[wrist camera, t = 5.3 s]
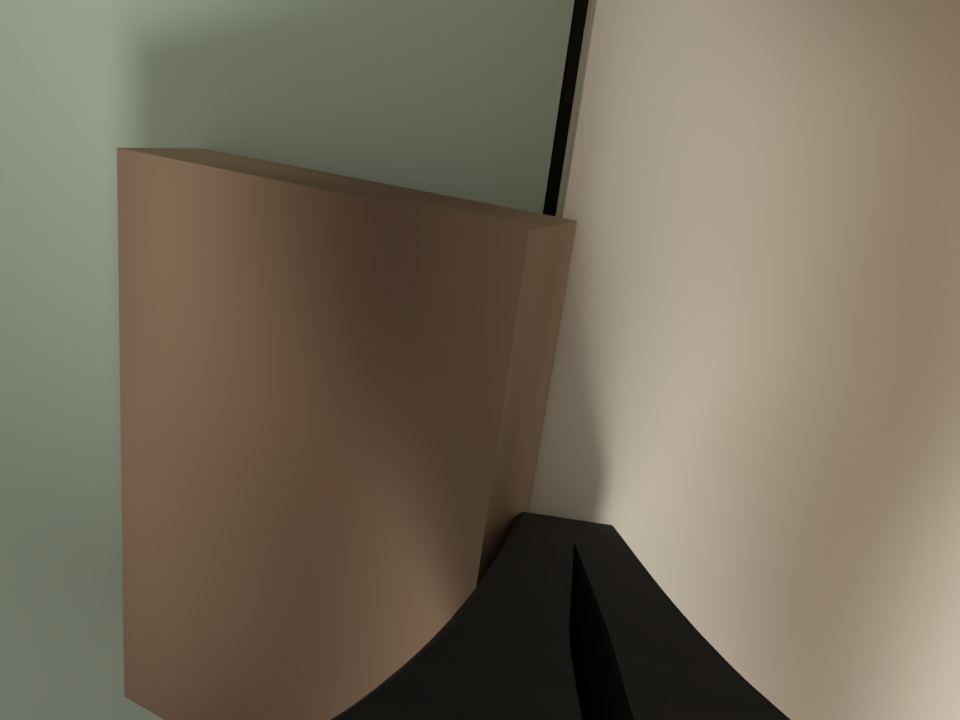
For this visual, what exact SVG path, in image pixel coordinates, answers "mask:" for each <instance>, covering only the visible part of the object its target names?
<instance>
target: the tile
mask: <svg viewBox="0 0 960 720" xmlns="http://www.w3.org/2000/svg"><path fill="white" fill-rule="evenodd" d="M117 195H118V270H119V345H120V420H121V495H122V570H123V645H124V697H126V698H127V699H129V700H131V701H133V702H134V703H136V704H138V705H140V706H141V707H143V708H145V709H147V710H148V711H150V712H152V713H153V714H155V715H157V716H159V717H160V718H162V719H164V720H331V719H332V718H334V717H335V716H337V715H339V714H340V713H342V712H343V711H345V710H346V709H348V708H350V707H351V706H352V705H354V704H355V703H357V702H358V701H359V700H361V699H362V698H363V697H365V696H366V695H367V694H369V693H370V692H371V691H373V690H374V689H375V688H377V687H378V686H379V685H380V684H381V683H383V682H384V681H385V680H386V679H388V678H389V677H390V676H391V675H392V674H394V673H395V672H396V671H397V670H398V669H400V668H401V667H402V666H403V665H405V664H406V663H407V662H408V661H409V660H410V659H411V658H412V657H413V656H414V655H415V654H417V653H418V652H419V651H420V650H421V649H422V648H423V647H424V646H425V645H426V644H427V643H428V642H429V641H430V640H431V639H432V638H433V637H434V636H435V635H436V634H437V633H438V632H439V631H440V630H441V629H442V628H443V627H444V626H445V624H446V623H447V622H448V621H449V620H450V619H451V618H452V617H453V615H454V614H455V613H456V612H457V610H458V609H459V608H460V607H461V606H462V604H463V603H464V602H465V601H466V599H467V598H468V597H469V596H470V595H471V593H472V592H473V591H474V590H475V588H476V587H477V586H478V584H479V583H480V582H481V580H482V578H483V577H484V575H485V574H486V572H487V571H488V569H489V568H490V566H491V565H492V563H493V562H494V560H495V559H496V557H497V556H498V554H499V552H500V550H501V548H502V547H503V545H504V543H505V541H506V539H507V537H508V534H509V532H510V529H511V526H512V520H513V518H514V517H515V516H516V515H518V514H519V513H521V512H529V507H530V501H531V495H532V489H533V483H534V477H535V471H536V465H537V459H538V453H539V447H540V441H541V435H542V429H543V423H544V417H545V411H546V405H547V399H548V393H549V387H550V381H551V375H552V369H553V363H554V357H555V351H556V345H557V339H558V333H559V327H560V321H561V315H562V309H563V303H564V297H565V291H566V285H567V279H568V273H569V267H570V261H571V255H572V249H573V243H574V237H575V231H576V225H577V221H576V220H571V219H566V218H561V217H556V216H550V215H545V214H540V213H535V212H530V211H524V210H519V209H514V208H509V207H504V206H498V205H493V204H488V203H483V202H478V201H472V200H467V199H462V198H457V197H452V196H446V195H441V194H436V193H431V192H426V191H420V190H415V189H410V188H405V187H400V186H394V185H389V184H384V183H379V182H374V181H368V180H363V179H358V178H353V177H348V176H342V175H337V174H332V173H327V172H322V171H316V170H311V169H306V168H301V167H296V166H290V165H285V164H280V163H275V162H270V161H264V160H259V159H254V158H249V157H244V156H238V155H233V154H228V153H223V152H218V151H212V150H207V149H202V148H117Z"/></svg>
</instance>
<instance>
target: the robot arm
mask: <svg viewBox="0 0 960 720" xmlns="http://www.w3.org/2000/svg"><path fill="white" fill-rule="evenodd" d="M331 720H790V719H789V718H788V717H787V716H786V715H785V714H784V713H782V712H781V711H780V710H779V709H778V708H777V707H776V706H775V705H773V704H772V703H771V702H770V701H769V700H768V699H767V698H766V697H764V696H763V695H762V694H761V693H760V692H759V691H758V690H756V689H755V688H754V687H753V686H752V685H751V684H750V683H749V682H748V681H747V680H746V679H744V678H743V677H742V676H741V675H740V674H739V673H738V672H737V671H736V670H735V669H734V668H733V667H732V666H731V665H730V664H729V663H728V662H727V661H726V660H725V659H724V658H723V657H722V656H721V655H720V654H719V653H718V651H717V650H716V649H715V648H714V647H713V646H712V645H711V644H710V643H709V642H708V641H707V640H706V639H705V638H704V637H703V636H702V635H701V634H700V633H699V632H698V630H697V629H696V628H695V627H694V626H693V625H692V624H691V623H690V621H689V620H688V619H687V618H686V617H685V616H684V615H683V614H682V612H681V611H680V610H679V609H678V608H677V607H676V605H675V604H674V603H673V602H672V601H671V599H670V598H669V597H668V596H667V595H666V593H665V592H664V591H663V590H662V589H661V587H660V586H659V585H658V584H657V582H656V581H655V580H654V579H653V577H652V576H651V575H650V573H649V572H648V571H647V570H646V568H645V567H644V566H643V564H642V563H641V562H640V561H639V559H638V558H637V557H636V555H635V554H634V553H633V551H632V550H631V549H630V547H629V546H628V545H627V543H626V542H625V541H624V539H623V538H622V537H621V535H620V534H619V533H618V532H617V530H616V529H615V528H614V527H613V525H608V524H601V523H595V522H588V521H581V520H575V519H568V518H562V517H555V516H548V515H542V514H535V513H529V512H521V513H519V514H518V515H516V516H515V517H514V518H513V520H512V526H511V529H510V532H509V534H508V537H507V539H506V541H505V543H504V545H503V547H502V548H501V550H500V552H499V554H498V556H497V557H496V559H495V560H494V562H493V563H492V565H491V566H490V568H489V569H488V571H487V572H486V574H485V575H484V577H483V578H482V580H481V582H480V583H479V584H478V586H477V587H476V588H475V590H474V591H473V592H472V593H471V595H470V596H469V597H468V598H467V599H466V601H465V602H464V603H463V604H462V606H461V607H460V608H459V609H458V610H457V612H456V613H455V614H454V615H453V617H452V618H451V619H450V620H449V621H448V622H447V623H446V624H445V626H444V627H443V628H442V629H441V630H440V631H439V632H438V633H437V634H436V635H435V636H434V637H433V638H432V639H431V640H430V641H429V642H428V643H427V644H426V645H425V646H424V647H423V648H422V649H421V650H420V651H419V652H418V653H417V654H415V655H414V656H413V657H412V658H411V659H410V660H409V661H408V662H407V663H406V664H405V665H403V666H402V667H401V668H400V669H398V670H397V671H396V672H395V673H394V674H392V675H391V676H390V677H389V678H388V679H386V680H385V681H384V682H383V683H381V684H380V685H379V686H378V687H377V688H375V689H374V690H373V691H371V692H370V693H369V694H367V695H366V696H365V697H363V698H362V699H361V700H359V701H358V702H357V703H355V704H354V705H352V706H351V707H350V708H348V709H346V710H345V711H343V712H342V713H340V714H339V715H337V716H335V717H334V718H332V719H331Z"/></svg>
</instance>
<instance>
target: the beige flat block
mask: <svg viewBox="0 0 960 720" xmlns="http://www.w3.org/2000/svg"><path fill="white" fill-rule="evenodd" d="M555 216H556V217H561V218H566V219H571V220H576V221H577V225H576V231H575V237H574V243H573V249H572V255H571V261H570V267H569V273H568V279H567V285H566V291H565V297H564V303H563V309H562V315H561V321H560V327H559V333H558V339H557V345H556V351H555V357H554V363H553V369H552V375H551V381H550V387H549V393H548V399H547V405H546V411H545V417H544V423H543V429H542V435H541V441H540V447H539V453H538V459H537V465H536V471H535V477H534V483H533V489H532V495H531V501H530V507H529V513H535V514H542V515H548V516H555V517H562V518H568V519H575V520H581V521H588V522H595V523H601V524H608V525H613V527H614V528H615V529H616V530H617V532H618V533H619V534H620V535H621V537H622V538H623V539H624V541H625V542H626V543H627V545H628V546H629V547H630V549H631V550H632V551H633V553H634V554H635V555H636V557H637V558H638V559H639V561H640V562H641V563H642V564H643V566H644V567H645V568H646V570H647V571H648V572H649V573H650V575H651V576H652V577H653V579H654V580H655V581H656V582H657V584H658V585H659V586H660V587H661V589H662V590H663V591H664V592H665V593H666V595H667V596H668V597H669V598H670V599H671V601H672V602H673V603H674V604H675V605H676V607H677V608H678V609H679V610H680V611H681V612H682V614H683V615H684V616H685V617H686V618H687V619H688V620H689V621H690V623H691V624H692V625H693V626H694V627H695V628H696V629H697V630H698V632H699V633H700V634H701V635H702V636H703V637H704V638H705V639H706V640H707V641H708V642H709V643H710V644H711V645H712V646H713V647H714V648H715V649H716V650H717V651H718V653H719V654H720V655H721V656H722V657H723V658H724V659H725V660H726V661H727V662H728V663H729V664H730V665H731V666H732V667H733V668H734V669H735V670H736V671H737V672H738V673H739V674H740V675H741V676H742V677H743V678H744V679H746V680H747V681H748V682H749V683H750V684H751V685H752V686H753V687H754V688H755V689H756V690H758V691H759V692H760V693H761V694H762V695H763V696H764V697H766V698H767V699H768V700H769V701H770V702H771V703H772V704H773V705H775V706H776V707H777V708H778V709H779V710H780V711H781V712H782V713H784V714H785V715H786V716H787V717H788V718H789V719H790V720H960V0H588V7H587V13H586V20H585V26H584V33H583V39H582V46H581V52H580V59H579V65H578V72H577V78H576V85H575V91H574V98H573V104H572V111H571V117H570V124H569V130H568V137H567V143H566V150H565V156H564V163H563V169H562V176H561V182H560V189H559V195H558V202H557V208H556V215H555Z"/></svg>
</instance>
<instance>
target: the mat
mask: <svg viewBox="0 0 960 720" xmlns="http://www.w3.org/2000/svg"><path fill="white" fill-rule="evenodd" d="M574 1H575V0H0V720H164V719H162V718H160V717H159V716H157V715H155V714H153V713H152V712H150V711H148V710H147V709H145V708H143V707H141V706H140V705H138V704H136V703H134V702H133V701H131V700H129V699H127V698H126V697H124V645H123V570H122V495H121V420H120V345H119V270H118V195H117V148H202V149H207V150H212V151H218V152H223V153H228V154H233V155H238V156H244V157H249V158H254V159H259V160H264V161H270V162H275V163H280V164H285V165H290V166H296V167H301V168H306V169H311V170H316V171H322V172H327V173H332V174H337V175H342V176H348V177H353V178H358V179H363V180H368V181H374V182H379V183H384V184H389V185H394V186H400V187H405V188H410V189H415V190H420V191H426V192H431V193H436V194H441V195H446V196H452V197H457V198H462V199H467V200H472V201H478V202H483V203H488V204H493V205H498V206H504V207H509V208H514V209H519V210H524V211H530V212H535V213H540V214H543V209H544V202H545V195H546V189H547V182H548V175H549V168H550V162H551V155H552V148H553V142H554V135H555V128H556V121H557V115H558V108H559V101H560V95H561V88H562V81H563V75H564V68H565V61H566V54H567V48H568V41H569V34H570V28H571V21H572V14H573V7H574Z"/></svg>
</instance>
